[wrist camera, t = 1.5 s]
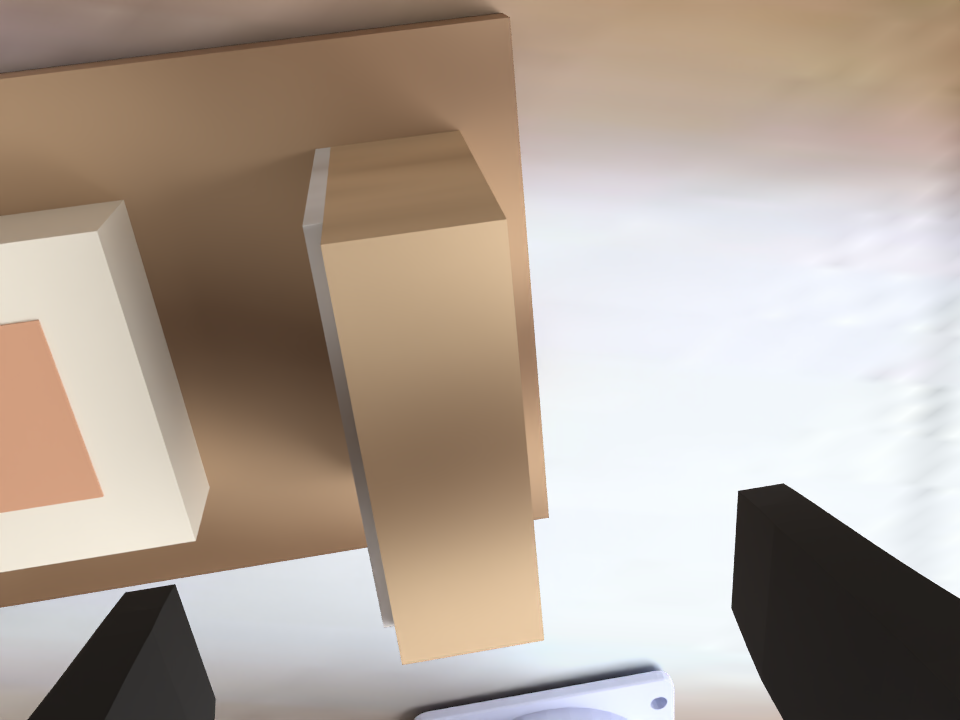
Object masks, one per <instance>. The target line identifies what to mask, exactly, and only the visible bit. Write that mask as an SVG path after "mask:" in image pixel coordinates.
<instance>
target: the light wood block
mask: <svg viewBox="0 0 960 720" xmlns="http://www.w3.org/2000/svg"><path fill="white" fill-rule="evenodd" d="M302 226H303V231H304V236H305V241H306V246H307V251H308V256H309V261H310V266H311V271H312V276H313V280H314V285H315V290H316V295H317V300H318V305H319V310H320V315H321V320H322V325H323V330H324V335H325V340H326V345H327V349H328V354H329V359H330V364H331V369H332V374H333V379H334V384H335V389H336V394H337V399H338V404H339V409H340V414H341V418H342V423H343V428H344V433H345V438H346V443H347V448H348V453H349V458H350V463H351V468H352V473H353V478H354V483H355V487H356V492H357V497H358V502H359V507H360V512H361V517H362V522H363V527H364V532H365V537H366V542H367V547H368V552H369V556H370V561H371V566H372V571H373V576H374V581H375V586H376V591H377V596H378V601H379V606H380V611H381V616H382V621H383V625H384V628H386V627H392V626H395V630H396V635H397V640H398V645H399V651H400V656H401V661H402V665H405V664H411V663H417V662H423V661H428V660H434V659H440V658H445V657H451V656H457V655H463V654H468V653H474V652H480V651H485V650H491V649H497V648H503V647H508V646H514V645H520V644H526V643H531V642H537V641H543V640H544V634H543V623H542V612H541V600H540V589H539V578H538V566H537V555H536V544H535V533H534V521H533V510H532V499H531V487H530V476H529V465H528V453H527V442H526V431H525V419H524V408H523V397H522V385H521V374H520V363H519V351H518V340H517V329H516V318H515V306H514V295H513V284H512V272H511V261H510V250H509V238H508V227H507V219H506V217H505V215H504V213H503V211H502V209H501V207H500V206H499V204H498V202H497V200H496V198H495V196H494V194H493V192H492V191H491V189H490V187H489V185H488V183H487V181H486V179H485V177H484V175H483V174H482V172H481V170H480V168H479V166H478V164H477V162H476V160H475V159H474V157H473V155H472V153H471V151H470V149H469V147H468V145H467V144H466V142H465V140H464V138H463V136H462V134H461V132H460V130H458V131H451V132H443V133H435V134H428V135H420V136H412V137H405V138H397V139H389V140H382V141H374V142H366V143H358V144H351V145H343V146H335V147H328V148H320V149H315V155H314V161H313V167H312V173H311V179H310V184H309V190H308V196H307V202H306V208H305V214H304V219H303V225H302Z"/></svg>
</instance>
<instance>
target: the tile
mask: <svg viewBox="0 0 960 720" xmlns="http://www.w3.org/2000/svg"><path fill="white" fill-rule="evenodd" d="M209 488H210V487H209V484H208V481H207V477H206V474H205V470H204V467H203V464H202V460H201V457H200V454H199V450H198V447H197V444H196V440H195V437H194V434H193V430H192V427H191V424H190V420H189V417H188V413H187V410H186V407H185V403H184V400H183V397H182V393H181V390H180V387H179V383H178V380H177V377H176V373H175V370H174V367H173V363H172V360H171V357H170V353H169V350H168V346H167V343H166V340H165V336H164V333H163V330H162V326H161V323H160V320H159V316H158V313H157V310H156V306H155V303H154V300H153V296H152V293H151V289H150V286H149V283H148V279H147V276H146V273H145V269H144V266H143V263H142V259H141V256H140V253H139V249H138V246H137V243H136V239H135V236H134V232H133V229H132V226H131V222H130V219H129V216H128V212H127V209H126V206H125V202H124V200H118V201H110V202H103V203H95V204H88V205H80V206H73V207H65V208H57V209H50V210H42V211H35V212H27V213H20V214H12V215H5V216H0V572H6V571H12V570H19V569H25V568H31V567H37V566H43V565H50V564H56V563H62V562H68V561H74V560H81V559H87V558H93V557H99V556H105V555H112V554H118V553H124V552H130V551H136V550H143V549H149V548H155V547H161V546H167V545H174V544H180V543H186V542H192V541H196V538H197V534H198V530H199V526H200V523H201V519H202V515H203V511H204V507H205V503H206V499H207V495H208V492H209Z"/></svg>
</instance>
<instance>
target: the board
mask: <svg viewBox="0 0 960 720" xmlns="http://www.w3.org/2000/svg"><path fill="white" fill-rule="evenodd" d="M458 130H460V132H461V134H462V136H463V138H464V140H465V142H466V144H467V145H468V147H469V149H470V151H471V153H472V155H473V157H474V159H475V160H476V162H477V164H478V166H479V168H480V170H481V172H482V174H483V175H484V177H485V179H486V181H487V183H488V185H489V187H490V189H491V191H492V192H493V194H494V196H495V198H496V200H497V202H498V204H499V206H500V207H501V209H502V211H503V213H504V215H505V217H506V219H507V227H508V238H509V250H510V261H511V272H512V284H513V295H514V306H515V318H516V329H517V340H518V351H519V363H520V374H521V385H522V397H523V408H524V419H525V431H526V442H527V453H528V465H529V476H530V487H531V499H532V510H533V520H537V519H543V518H549V514H548V501H547V488H546V475H545V462H544V450H543V437H542V424H541V411H540V398H539V385H538V373H537V360H536V347H535V334H534V321H533V308H532V296H531V283H530V270H529V257H528V244H527V231H526V219H525V206H524V193H523V180H522V167H521V154H520V142H519V129H518V116H517V103H516V90H515V77H514V65H513V52H512V39H511V26H510V17H508V16H506V15H505V14H503V13H497V14H489V15H481V16H473V17H464V18H456V19H448V20H439V21H431V22H423V23H414V24H406V25H398V26H390V27H381V28H373V29H365V30H356V31H348V32H340V33H332V34H323V35H315V36H307V37H298V38H290V39H282V40H273V41H265V42H257V43H249V44H240V45H232V46H224V47H215V48H207V49H199V50H190V51H182V52H174V53H166V54H157V55H149V56H141V57H132V58H124V59H116V60H108V61H99V62H91V63H83V64H74V65H66V66H58V67H49V68H41V69H33V70H25V71H16V72H8V73H0V216H5V215H12V214H20V213H27V212H35V211H42V210H50V209H57V208H65V207H73V206H80V205H88V204H95V203H103V202H110V201H118V200H124V202H125V206H126V209H127V212H128V216H129V219H130V222H131V226H132V229H133V232H134V236H135V239H136V243H137V246H138V249H139V253H140V256H141V259H142V263H143V266H144V269H145V273H146V276H147V279H148V283H149V286H150V289H151V293H152V296H153V300H154V303H155V306H156V310H157V313H158V316H159V320H160V323H161V326H162V330H163V333H164V336H165V340H166V343H167V346H168V350H169V353H170V357H171V360H172V363H173V367H174V370H175V373H176V377H177V380H178V383H179V387H180V390H181V393H182V397H183V400H184V403H185V407H186V410H187V413H188V417H189V420H190V424H191V427H192V430H193V434H194V437H195V440H196V444H197V447H198V450H199V454H200V457H201V460H202V464H203V467H204V470H205V474H206V477H207V481H208V484H209V487H210V488H209V492H208V495H207V499H206V503H205V507H204V511H203V515H202V519H201V523H200V526H199V530H198V534H197V538H196V541H192V542H186V543H180V544H174V545H167V546H161V547H155V548H149V549H143V550H136V551H130V552H124V553H118V554H112V555H105V556H99V557H93V558H87V559H81V560H74V561H68V562H62V563H56V564H50V565H43V566H37V567H31V568H25V569H19V570H12V571H6V572H0V608H1V607H7V606H13V605H19V604H25V603H31V602H38V601H44V600H50V599H56V598H62V597H68V596H74V595H80V594H86V593H92V592H98V591H105V590H111V589H117V588H123V587H129V586H135V585H141V584H147V583H153V582H159V581H165V580H171V579H178V578H184V577H190V576H196V575H202V574H208V573H214V572H220V571H226V570H232V569H238V568H245V567H251V566H257V565H263V564H269V563H275V562H281V561H287V560H293V559H299V558H305V557H312V556H318V555H324V554H330V553H336V552H342V551H348V550H354V549H360V548H366V547H367V542H366V537H365V532H364V527H363V522H362V517H361V512H360V507H359V502H358V497H357V492H356V487H355V483H354V478H353V473H352V468H351V463H350V458H349V453H348V448H347V443H346V438H345V433H344V428H343V423H342V418H341V414H340V409H339V404H338V399H337V394H336V389H335V384H334V379H333V374H332V369H331V364H330V359H329V354H328V349H327V345H326V340H325V335H324V330H323V325H322V320H321V315H320V310H319V305H318V300H317V295H316V290H315V285H314V280H313V276H312V271H311V266H310V261H309V256H308V251H307V246H306V241H305V236H304V231H303V226H302V225H303V219H304V214H305V208H306V202H307V196H308V190H309V184H310V179H311V173H312V167H313V161H314V155H315V149H320V148H328V147H335V146H343V145H351V144H358V143H366V142H374V141H382V140H389V139H397V138H405V137H412V136H420V135H428V134H435V133H443V132H451V131H458Z"/></svg>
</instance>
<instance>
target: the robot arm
mask: <svg viewBox="0 0 960 720" xmlns="http://www.w3.org/2000/svg"><path fill="white" fill-rule="evenodd" d="M731 608H732V611H733V613H734V616H735V618H736V621H737V623H738V626H739V628H740V631H741V633H742V636H743V638H744V641H745V643H746V646H747V648H748V650H749V653H750V655H751V657H752V660H753V662H754V664H755V667H756V669H757V671H758V673H759V676H760V678H761V680H762V682H763V684H764V686H765V688H766V689H767V691H768V693H769V695H770V697H771V698H772V700H773V702H774V704H775V706H776V707H777V709H778V711H779V713H780V714H781V716H782V718H783V720H960V598H958V597H956V596H955V595H953V594H951V593H950V592H948V591H946V590H945V589H943V588H942V587H940V586H938V585H937V584H935V583H934V582H932V581H930V580H929V579H927V578H926V577H924V576H922V575H921V574H919V573H918V572H916V571H915V570H913V569H911V568H910V567H908V566H907V565H905V564H904V563H902V562H901V561H899V560H898V559H896V558H894V557H893V556H891V555H890V554H888V553H887V552H885V551H884V550H882V549H881V548H879V547H878V546H876V545H875V544H873V543H872V542H870V541H869V540H867V539H866V538H864V537H863V536H861V535H860V534H858V533H857V532H855V531H854V530H853V529H851V528H850V527H848V526H847V525H845V524H844V523H842V522H841V521H839V520H838V519H836V518H835V517H833V516H832V515H830V514H829V513H827V512H826V511H825V510H823V509H822V508H820V507H819V506H817V505H816V504H814V503H813V502H811V501H810V500H808V499H807V498H805V497H804V496H802V495H801V494H799V493H798V492H796V491H795V490H793V489H791V488H790V487H788V486H787V485H785V484H784V483H783V484H777V485H771V486H765V487H759V488H753V489H747V490H741V491H738V504H737V521H736V538H735V555H734V573H733V590H732V607H731ZM658 697H659V698H658ZM655 698H656V699H655ZM215 701H216V699H215V696H214V693H213V690H212V687H211V685H210V682H209V679H208V676H207V673H206V670H205V668H204V665H203V662H202V659H201V656H200V653H199V651H198V648H197V645H196V642H195V639H194V636H193V633H192V631H191V628H190V625H189V622H188V619H187V616H186V614H185V611H184V608H183V605H182V602H181V599H180V597H179V594H178V591H177V588H176V585H175V584H174V585H168V586H162V587H156V588H150V589H144V590H138V591H132V592H126V593H125V594H124V595H123V596H122V597H121V599H120V600H119V601H118V603H117V604H116V605H115V606H114V608H113V609H112V610H111V611H110V613H109V614H108V615H107V617H106V618H105V619H104V620H103V622H102V623H101V624H100V626H99V627H98V628H97V630H96V631H95V632H94V634H93V635H92V636H91V638H90V639H89V640H88V642H87V643H86V644H85V646H84V647H83V648H82V650H81V651H80V652H79V654H78V655H77V656H76V658H75V659H74V660H73V662H72V663H71V664H70V666H69V667H68V668H67V670H66V671H65V672H64V673H63V675H62V676H61V677H60V679H59V680H58V681H57V683H56V684H55V685H54V687H53V688H52V689H51V691H50V692H49V693H48V694H47V696H46V697H45V698H44V699H43V701H42V702H41V703H40V705H39V706H38V707H37V708H36V710H35V711H34V712H33V713H32V715H31V716H30V717H29V719H28V720H214V718H215ZM414 720H674V685H673V682H672V680H671V677H670V675H669V674H668V673H666V672H663V671H651V672H646V673H640V674H635V675H629V676H624V677H618V678H612V679H607V680H601V681H596V682H590V683H584V684H579V685H573V686H568V687H562V688H556V689H551V690H545V691H540V692H534V693H529V694H523V695H517V696H512V697H506V698H501V699H495V700H489V701H484V702H478V703H473V704H467V705H461V706H456V707H450V708H445V709H439V710H434V711H428V712H424V713H421V714H420V715H418V716H417V717H415V719H414Z"/></svg>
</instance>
